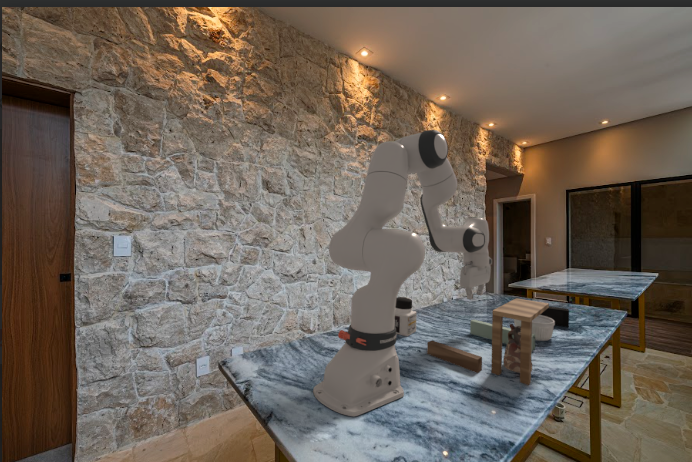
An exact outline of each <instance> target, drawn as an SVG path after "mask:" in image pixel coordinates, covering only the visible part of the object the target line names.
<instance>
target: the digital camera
mask: <svg viewBox="0 0 692 462" xmlns="http://www.w3.org/2000/svg"><path fill="white" fill-rule="evenodd" d="M540 315H542V316H546V317H549V318H551V319H553V320H554V321H555V325H554V326H559V327H564V328H569V326H570V310H569V308H566V307H565V308H564V307H558V306H550V305H549V308H547V309H546V310H545V311H544V312H542V313H541V314H540Z"/></svg>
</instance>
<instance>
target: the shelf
mask: <svg viewBox="0 0 692 462" xmlns="http://www.w3.org/2000/svg"><path fill="white" fill-rule="evenodd" d="M549 306H550V304H549V303H548V302H543V301H536V300H529V299H523V298H517V297H516V298H514V299H511V300H510V301H508V302H506V303H504V304H503V305H501V306H499V307H496V308H495V309H493V310H492V315H491V316H492V317H491V318H492V320H491V322H492V323H491V324H492V340H491V369H490V371H491V372H490V373H491V374H494V375H496V376H500V375H502V371H503V370H502V369H503V343H502V328H503V327H504V325H503V323H504V319H503V318H507V319H512V320H514V319H516V320H521V354H520V373H519V383H521V384H524V385H527V386H530V384H531V383H532V372H531V361H532V352H531V348H532V320H534V319H535V318H536V317H537V316H539V315H540V314H541V313H542V312H544V311H545V310H546V309H547V308H549Z"/></svg>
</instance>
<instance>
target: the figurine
mask: <svg viewBox="0 0 692 462" xmlns="http://www.w3.org/2000/svg"><path fill="white" fill-rule="evenodd" d="M509 328H510V329H511V331H509V332H508V340H509V342H508V343H507V344H505V345H506V346H505V349H504V355H503V358H502V362H503V367H505V369H507V370H509V371H511V372H515V373H519V374H520V354H521V326H517V327H515V324H514V323H510V324H509ZM512 335H514V339H513V337H512ZM532 371H533V362H532V360H531V373H532Z"/></svg>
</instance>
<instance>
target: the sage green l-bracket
mask: <svg viewBox="0 0 692 462" xmlns="http://www.w3.org/2000/svg"><path fill="white" fill-rule="evenodd" d="M469 326H470V327H469V328H470V329H469V331H470V332H469V333H470V335H474V336H478V337H480V338H481V337H482V338H484V339H488V340H490V341H492V323H490V322H485V321H481V320H478V319H471V320H470V325H469ZM509 331H511V328H510V327H505V326H503V328H502V344H505V345H507V343H508V342H509V340H508V332H509ZM512 337H513V339H514V335H512ZM534 350H536V340H535V334H532V348H531V353H532V352H534Z"/></svg>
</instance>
